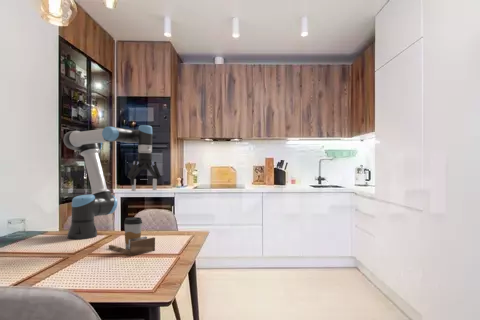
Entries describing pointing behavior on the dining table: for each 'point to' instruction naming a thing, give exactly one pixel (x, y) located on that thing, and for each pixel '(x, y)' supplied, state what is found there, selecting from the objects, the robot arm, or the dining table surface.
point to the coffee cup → (132, 229)
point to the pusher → (136, 240)
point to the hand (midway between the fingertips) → (144, 190)
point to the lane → (137, 247)
